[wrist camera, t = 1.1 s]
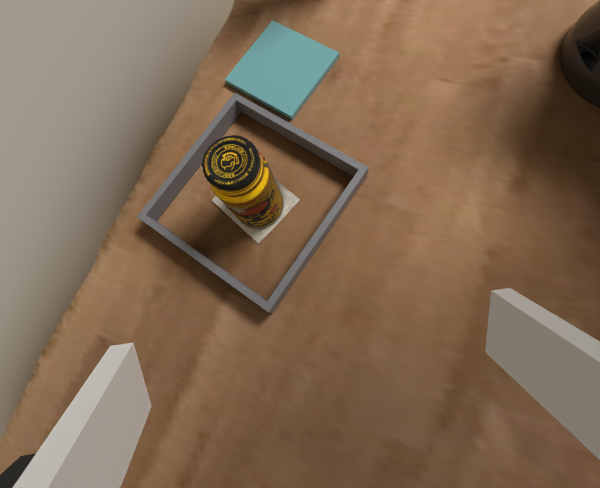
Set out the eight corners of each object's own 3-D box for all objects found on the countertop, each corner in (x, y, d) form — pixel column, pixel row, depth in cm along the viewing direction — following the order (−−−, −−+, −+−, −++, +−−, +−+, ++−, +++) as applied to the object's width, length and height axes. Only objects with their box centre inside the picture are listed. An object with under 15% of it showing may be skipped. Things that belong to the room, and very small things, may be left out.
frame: (240, 105, 45) (235, 92, 43) (366, 177, 41) (368, 167, 39) (148, 222, 43) (136, 216, 40) (272, 313, 38) (268, 312, 36)
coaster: (273, 25, 48) (272, 20, 47) (339, 57, 45) (339, 52, 45) (226, 83, 46) (224, 79, 46) (292, 120, 44) (291, 116, 43)
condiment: (259, 244, 40) (227, 211, 29) (211, 200, 43) (164, 153, 31) (300, 200, 41) (285, 151, 30) (252, 159, 43) (220, 98, 32)
